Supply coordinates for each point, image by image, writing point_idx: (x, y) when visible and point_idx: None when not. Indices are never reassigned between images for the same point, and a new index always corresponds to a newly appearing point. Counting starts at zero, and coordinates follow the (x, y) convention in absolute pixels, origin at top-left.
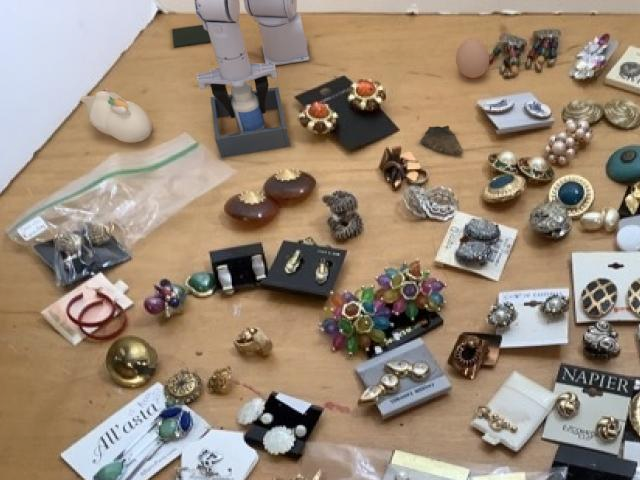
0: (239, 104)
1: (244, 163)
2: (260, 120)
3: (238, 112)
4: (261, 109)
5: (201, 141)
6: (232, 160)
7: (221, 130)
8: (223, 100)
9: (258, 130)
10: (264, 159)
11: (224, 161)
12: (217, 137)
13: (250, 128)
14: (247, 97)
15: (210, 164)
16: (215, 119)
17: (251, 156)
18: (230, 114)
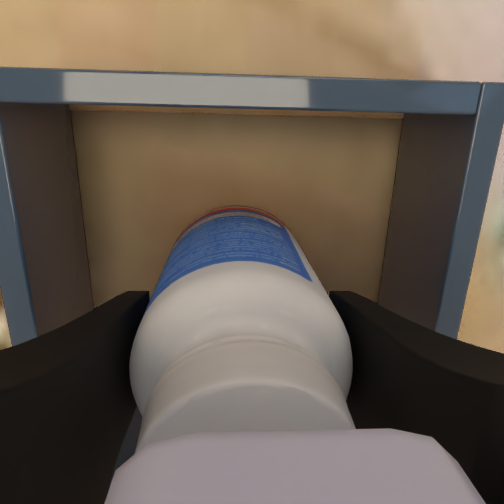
0: (294, 326)
1: (319, 3)
2: (173, 255)
3: (309, 280)
4: (134, 297)
5: (482, 254)
6: (376, 55)
7: (387, 291)
8: (466, 354)
9: (185, 96)
10: (203, 6)
11: (418, 59)
12: (493, 98)
13: (245, 219)
14: (201, 360)
15: (493, 56)
16: (450, 301)
17: (272, 59)
18: (362, 298)
